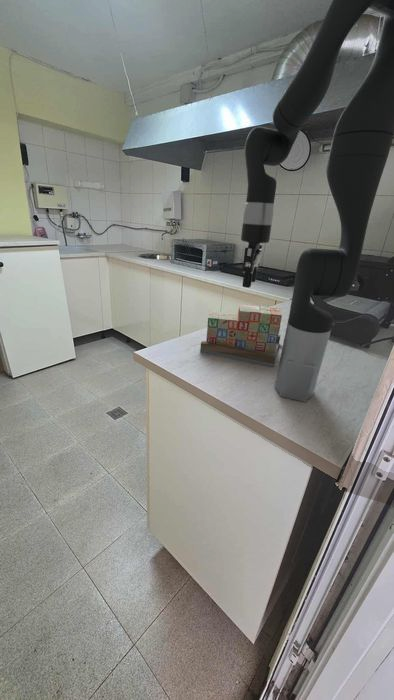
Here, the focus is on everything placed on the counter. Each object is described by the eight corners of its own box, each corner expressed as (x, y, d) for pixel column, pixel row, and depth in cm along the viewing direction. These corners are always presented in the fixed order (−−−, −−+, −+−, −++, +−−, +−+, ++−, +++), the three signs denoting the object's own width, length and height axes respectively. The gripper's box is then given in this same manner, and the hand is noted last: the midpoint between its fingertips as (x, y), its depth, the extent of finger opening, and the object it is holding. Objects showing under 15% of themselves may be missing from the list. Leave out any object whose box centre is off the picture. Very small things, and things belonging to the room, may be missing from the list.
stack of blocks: (205, 345, 89) (208, 307, 83) (207, 337, 94) (210, 301, 89) (275, 352, 86) (282, 314, 81) (273, 344, 92) (279, 307, 86)
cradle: (273, 367, 81) (275, 357, 79) (200, 351, 87) (200, 343, 85) (279, 343, 95) (280, 335, 94) (216, 331, 101) (216, 324, 100)
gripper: (268, 223, 68) (258, 291, 75) (274, 223, 80) (265, 281, 87) (237, 221, 70) (230, 287, 77) (247, 221, 82) (241, 278, 89)
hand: (249, 284), depth 82 cm, fingers open, 8 cm apart
